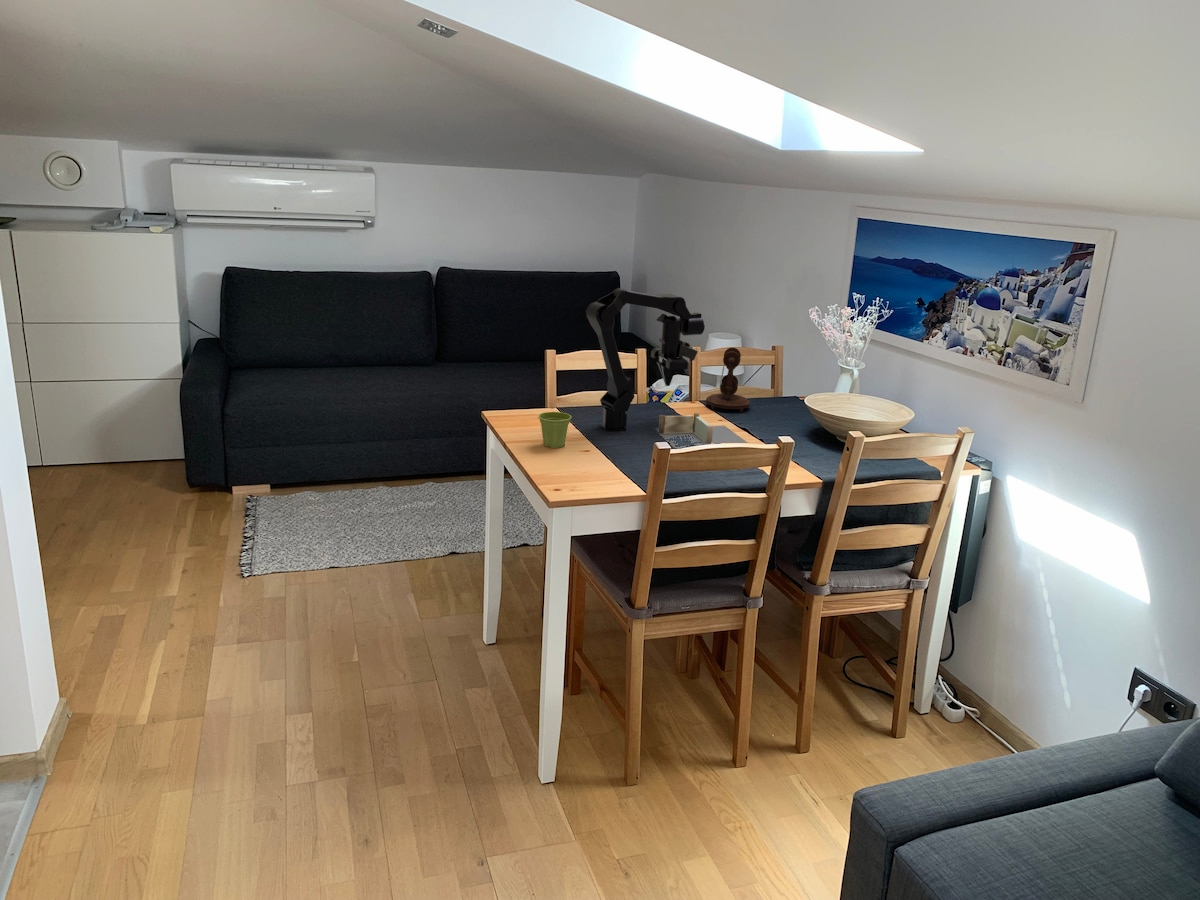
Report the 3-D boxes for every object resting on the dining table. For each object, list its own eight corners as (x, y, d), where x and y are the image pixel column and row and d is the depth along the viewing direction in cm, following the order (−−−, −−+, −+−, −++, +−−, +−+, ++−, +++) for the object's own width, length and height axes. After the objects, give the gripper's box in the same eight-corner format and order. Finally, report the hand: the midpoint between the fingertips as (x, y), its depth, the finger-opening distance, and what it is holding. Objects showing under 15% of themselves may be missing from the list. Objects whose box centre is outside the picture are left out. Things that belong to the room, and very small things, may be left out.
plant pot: (541, 451, 259) (542, 421, 256) (534, 440, 267) (535, 411, 265) (573, 449, 262) (575, 420, 259) (565, 439, 270) (566, 411, 267)
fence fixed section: (659, 433, 280) (660, 415, 278) (657, 432, 282) (658, 414, 280) (698, 432, 283) (699, 414, 282) (696, 430, 285) (697, 413, 283)
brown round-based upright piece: (706, 400, 322) (711, 343, 316) (749, 404, 320) (755, 347, 314) (704, 411, 309) (709, 351, 302) (749, 415, 307) (755, 355, 300)
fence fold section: (693, 431, 282) (695, 415, 281) (698, 431, 283) (700, 415, 281) (707, 443, 272) (709, 426, 270) (712, 443, 272) (714, 426, 270)
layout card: (675, 449, 267) (675, 448, 267) (652, 428, 286) (652, 427, 286) (751, 446, 273) (751, 445, 273) (724, 426, 292) (724, 425, 292)
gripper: (706, 342, 278) (702, 392, 282) (685, 330, 295) (681, 378, 299) (671, 342, 275) (668, 393, 279) (651, 330, 292) (648, 378, 297)
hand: (667, 385), depth 289 cm, fingers closed
